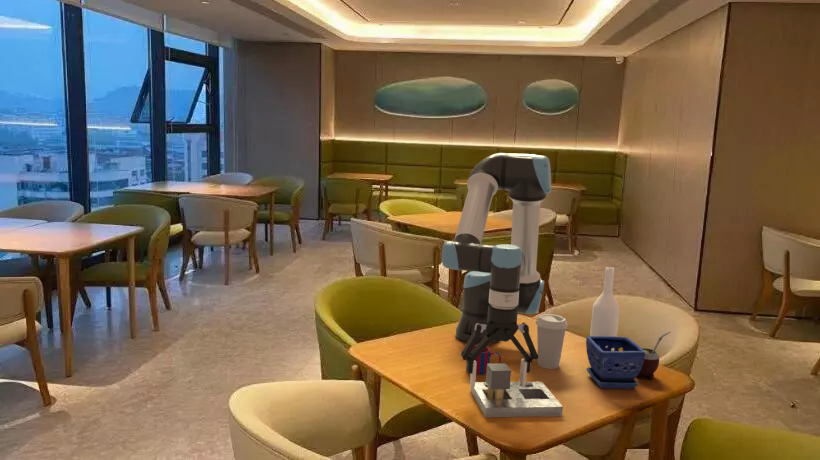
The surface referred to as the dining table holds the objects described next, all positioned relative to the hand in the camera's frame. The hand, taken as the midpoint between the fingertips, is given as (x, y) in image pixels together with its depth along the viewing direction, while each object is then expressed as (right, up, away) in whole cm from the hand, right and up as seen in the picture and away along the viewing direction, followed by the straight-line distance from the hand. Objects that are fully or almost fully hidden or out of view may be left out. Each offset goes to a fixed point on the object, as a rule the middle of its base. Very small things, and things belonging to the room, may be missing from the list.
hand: (497, 384), depth 167 cm
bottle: (+38, -1, +37) cm, 53 cm away
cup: (-1, -2, +23) cm, 23 cm away
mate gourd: (+48, -4, +25) cm, 54 cm away
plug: (0, -5, +1) cm, 5 cm away
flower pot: (+36, -4, +19) cm, 41 cm away
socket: (+5, -5, +2) cm, 7 cm away
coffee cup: (+20, -1, +31) cm, 37 cm away
